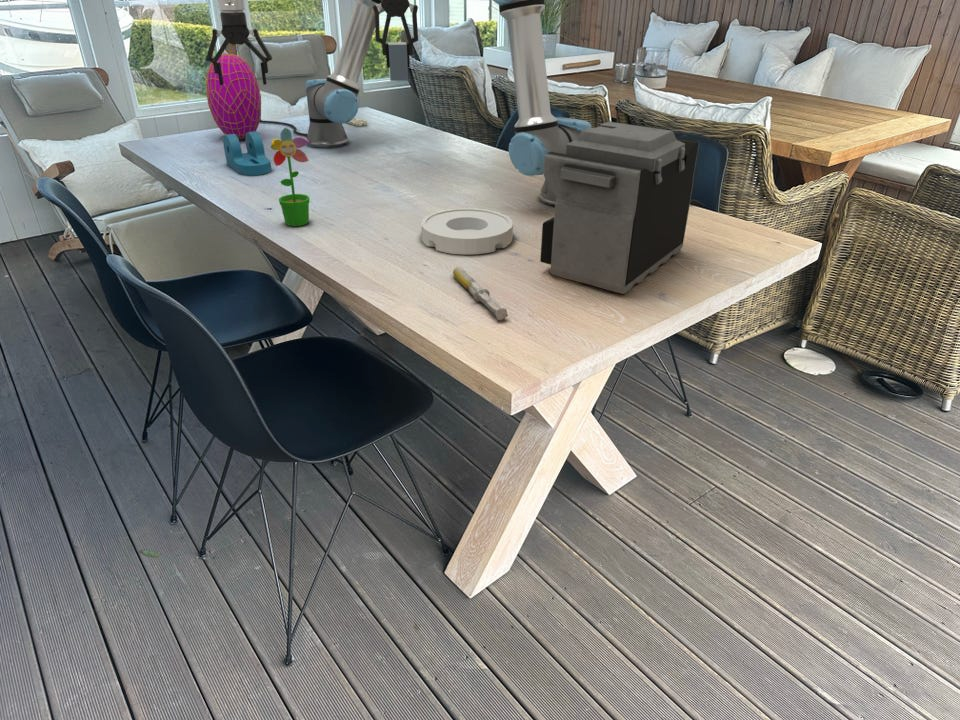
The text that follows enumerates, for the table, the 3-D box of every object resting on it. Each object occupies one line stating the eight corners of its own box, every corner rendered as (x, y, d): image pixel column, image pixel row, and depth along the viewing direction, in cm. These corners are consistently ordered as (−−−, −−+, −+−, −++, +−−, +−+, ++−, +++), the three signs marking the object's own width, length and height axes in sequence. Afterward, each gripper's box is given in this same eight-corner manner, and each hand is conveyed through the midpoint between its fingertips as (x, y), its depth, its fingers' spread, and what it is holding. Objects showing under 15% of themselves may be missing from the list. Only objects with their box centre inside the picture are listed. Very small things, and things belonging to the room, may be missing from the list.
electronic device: (606, 230, 180) (619, 111, 165) (687, 249, 169) (709, 123, 154) (532, 275, 155) (539, 139, 140) (621, 301, 144) (640, 156, 128)
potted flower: (284, 229, 179) (270, 130, 166) (277, 220, 185) (263, 124, 172) (319, 224, 183) (308, 127, 170) (311, 215, 188) (300, 121, 176)
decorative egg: (252, 130, 278) (239, 49, 262) (275, 139, 265) (264, 54, 250) (206, 137, 266) (190, 53, 251) (228, 146, 254) (213, 59, 239)
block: (389, 77, 218) (387, 42, 212) (406, 77, 218) (405, 42, 213) (390, 80, 212) (388, 44, 207) (408, 80, 212) (406, 44, 207)
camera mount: (227, 164, 233) (221, 132, 227) (257, 160, 238) (252, 129, 233) (244, 176, 220) (239, 143, 215) (276, 172, 225) (271, 139, 220)
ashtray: (426, 221, 185) (425, 207, 183) (512, 223, 185) (512, 208, 183) (416, 253, 165) (416, 237, 163) (512, 255, 165) (513, 239, 163)
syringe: (449, 274, 155) (449, 263, 153) (465, 272, 156) (464, 260, 154) (490, 323, 135) (491, 310, 133) (508, 319, 136) (508, 307, 134)
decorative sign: (319, 115, 301) (339, 112, 307) (320, 117, 301) (339, 114, 307) (352, 125, 284) (372, 122, 290) (352, 127, 284) (372, 124, 290)
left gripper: (187, 12, 209) (201, 86, 219) (272, 12, 212) (281, 85, 223) (192, 10, 215) (205, 82, 226) (274, 10, 218) (283, 81, 229)
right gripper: (362, -19, 197) (368, 68, 209) (426, -18, 199) (429, 68, 211) (362, -19, 203) (367, 65, 215) (424, -19, 206) (426, 64, 218)
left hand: (243, 84), depth 224 cm, fingers open, 13 cm apart
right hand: (398, 66), depth 213 cm, fingers closed on block, 5 cm apart
